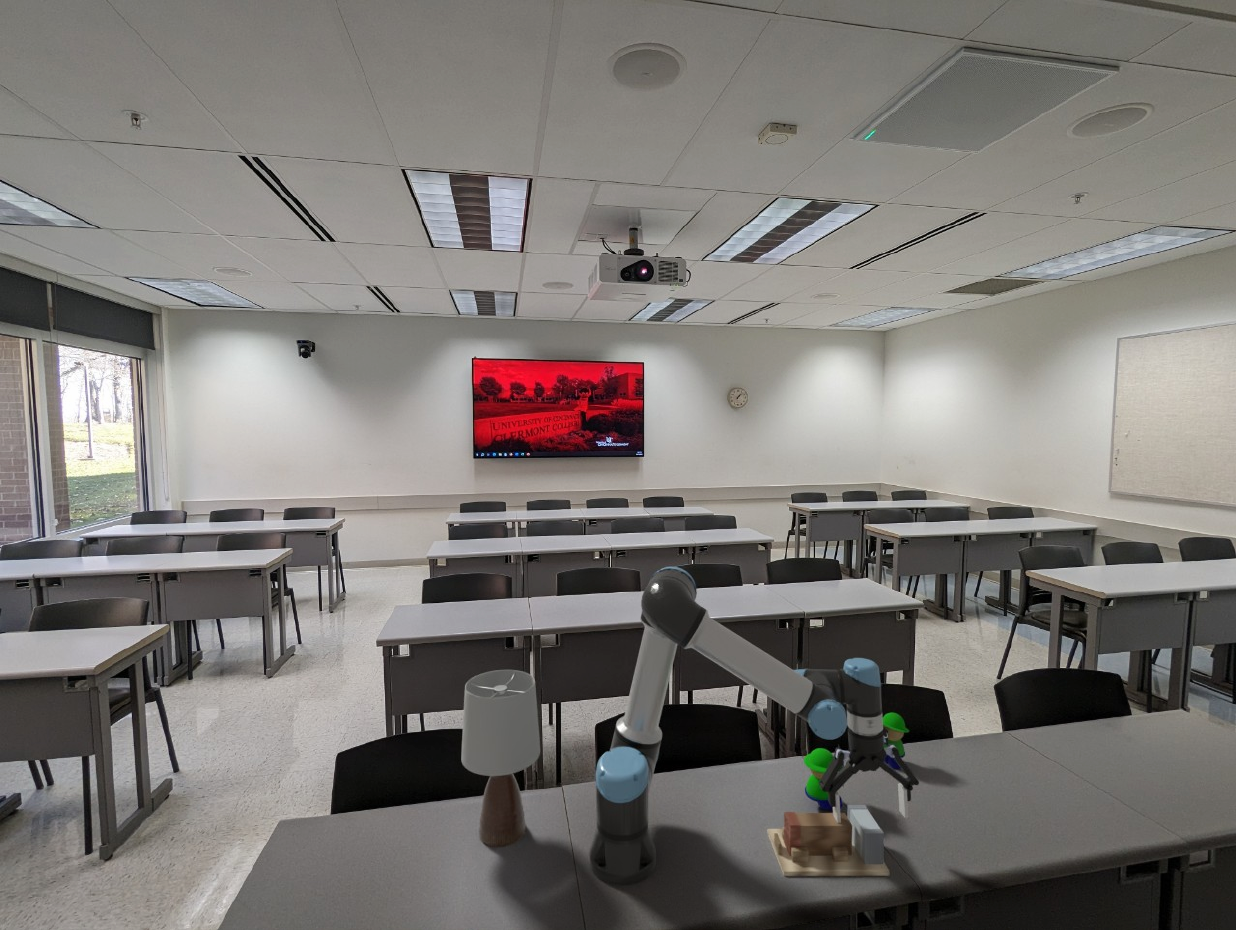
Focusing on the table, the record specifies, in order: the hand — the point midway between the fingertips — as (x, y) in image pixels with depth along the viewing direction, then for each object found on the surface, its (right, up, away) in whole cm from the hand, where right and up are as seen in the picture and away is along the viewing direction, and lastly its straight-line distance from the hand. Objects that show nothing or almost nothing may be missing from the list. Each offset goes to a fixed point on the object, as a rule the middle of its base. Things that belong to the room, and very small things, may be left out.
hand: (870, 820), depth 136 cm
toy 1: (-5, -7, +18) cm, 20 cm away
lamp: (-86, -8, +8) cm, 87 cm away
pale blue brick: (-1, -7, 0) cm, 7 cm away
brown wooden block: (-12, -7, 0) cm, 14 cm away
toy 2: (+22, -6, +38) cm, 44 cm away
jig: (-10, -8, 0) cm, 13 cm away
